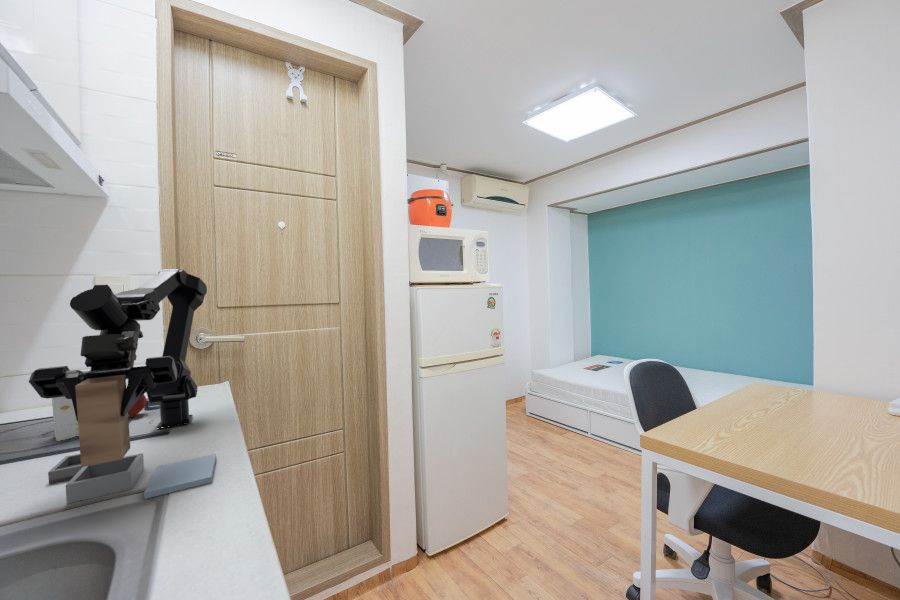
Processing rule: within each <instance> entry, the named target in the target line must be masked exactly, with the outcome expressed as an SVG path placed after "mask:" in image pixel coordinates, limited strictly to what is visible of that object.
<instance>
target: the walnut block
mask: <svg viewBox="0 0 900 600" xmlns="http://www.w3.org/2000/svg"><path fill="white" fill-rule="evenodd" d="M126 380H127V379H126V376H125V375H118V376H109V377H100V378H91V379H86V380H85V381H83V382H81V383H79V384H77V385H76V386H75V389H76V402H77V415H78V429H79V437H78V439H79V452H80V453H79V454H80V455H81V467H86V466H91V465H96V464H101V463H106V462H111V461H116V460H121V459H123V457H125V456H127V455H126V454H127V453H128V452H129V451H130V449H131V435H130V434H131V433H130V424H129V420H130V419H129V415H128V413H127V414H126V415H125V416H121V414H120V413H121V405H122V402H123V398H124V395H125V392H126V388H127V381H126Z"/></svg>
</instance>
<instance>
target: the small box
mask: <svg viewBox="0 0 900 600" xmlns="http://www.w3.org/2000/svg"><path fill="white" fill-rule="evenodd" d="M51 401H52V402H51V404H52V417H53V429H54V435H55V440H56V442H57V441H59V442H61V441H60V440H63V441H65V440H64V439H67V440H69V439H68V438H71V437H75V436H79V429H78V421H77V419H76V415H75V411H74V407H73V403H72V399H66V398H65V396H64V397H56V398H51ZM75 438H76V437H75ZM71 439H72V438H71Z"/></svg>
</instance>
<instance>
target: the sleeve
mask: <svg viewBox="0 0 900 600" xmlns="http://www.w3.org/2000/svg"><path fill="white" fill-rule="evenodd" d="M144 470H145V462H144V452H141V453H136V454H131V455H125V456H124V457H123V459H121V460H116V461H111V462H106V463H101V464H96V465H91V466H86V467H82V468H81V469H80V471H79V472H78V473H77V474H76V475H75V476H74V477H73V478H72V479H69V481H68V482H67V483H66V484H65V495H66V497H65V498H66V504H67V505H68V504H73V503H76V502H77V501H78V502H81V501H80V500H82V501H86V500H90V499H95V498H98V497H102V496H108V495H111V494H115V493H120V492H124V491H129V490H133V489H134V486H136V485H135V484H136V483H137V482H138V480H139V478H140V476H141V474H142V473H143V472H144Z"/></svg>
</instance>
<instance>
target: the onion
mask: <svg viewBox="0 0 900 600" xmlns="http://www.w3.org/2000/svg"><path fill="white" fill-rule="evenodd" d="M146 405H147V397H146V395H145V393H144V394H143V395H142V396H141V397H140V398H139V399H138V401H137V402H136V403H135V404H134V405H133V407H132V408H131V409H130V410H129V412H128V417H135V416H136V415H138V414H139V413H140V412H142V411H143V410H144V408H145V407H146Z"/></svg>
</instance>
